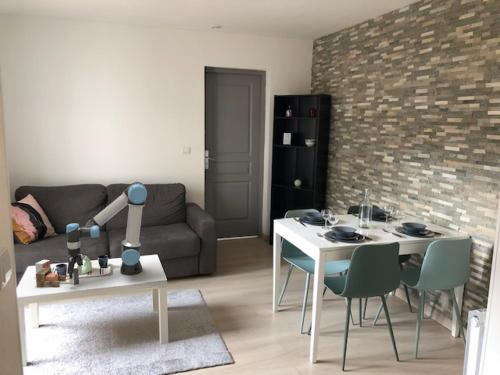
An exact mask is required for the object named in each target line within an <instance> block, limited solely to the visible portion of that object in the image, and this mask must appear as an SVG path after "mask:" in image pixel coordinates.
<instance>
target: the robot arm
mask: <svg viewBox="0 0 500 375" xmlns="http://www.w3.org/2000/svg"><path fill="white" fill-rule="evenodd" d="M147 191H148V190H147V187H146V186H145V184H143V183H142V182H140V181H135V182H132V183H131V184H130V185H129V186H128V187H127V188H126V189H125V190H123V191H122V194H121V195H119V196H118V197H117V198H116V199H114V200H113V201H112V202H111V203H110V204H109V205H107V206H106V207H105V208H103V210H101V211H99V213H97V214H96V215H95V216H93V217H92V218H91V219H90V220H88V221H86V223H85V225H83V226H80V224H79V223H75V222H73V223H69V224H67V225H66V227H65V228H66V232H65V233H66V241H67V243H66V244H67V254H68V255H70V257H69V258H68V262H67V271H66V274H67V275H68V279H69V281H68V282H70V283H69V284H74V273H73V270H74V268H75V265H77V266H76V268H78V274H79V276H83V268H82V266H84V261H83V258H82V254H81V253H82V252H81V239H88V238H89V239H92V238H93V239H94V238H98V237H100V228H101V227H102V226H103V225H104V224H105V223H107V222H108V221H109V220H110V219H111V218H113V217H114V216H115V215H116V214H117V213H119V212H120V211H121V210H122V209H124V208H125V207H126V206H128V213H127V224H126V232H125V233H126V234H125V239H124V240H121V243H120V245H121V261H122V262H121V264H120V269H119V272H120V274H121V275H125V276H134V275H137V274H140V273H142V272H143V265H142V262H141V260H140V259H141V246H142V244H141V242H140V234H141V226H142V216H143V209H144V208H143V207H145V206H146V201H147V197H148V192H147Z"/></svg>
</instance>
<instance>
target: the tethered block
mask: <svg viewBox="0 0 500 375" xmlns="http://www.w3.org/2000/svg"><path fill="white" fill-rule="evenodd" d="M73 273H74V283H73V285H79V284H80V279H79V278H80V277H79V276H80V275H79V274H78V268H77V267H74V270H73ZM58 274H59V273H56V272H55V273H54V272H52V273H48V274H47V275H46V276H45V281H58V276H59V275H58ZM60 284H71V283H70V282H69V281H60Z"/></svg>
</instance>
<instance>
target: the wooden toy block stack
mask: <svg viewBox="0 0 500 375" xmlns="http://www.w3.org/2000/svg"><path fill="white" fill-rule="evenodd" d="M48 273H53V272H52V267H51V268H43V269H42V270H40V271H39V272H38V273H36V272H35V283H36V288H60V286H61V283H60V282H67V275H58V281H45V276H46V275H47V274H48Z"/></svg>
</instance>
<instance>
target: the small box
mask: <svg viewBox="0 0 500 375" xmlns="http://www.w3.org/2000/svg"><path fill="white" fill-rule="evenodd" d="M34 264H35V274H36V273H38V272H39V271H40V270H42V269H43V268H51V269H52V266H51V260H49V259H42V260H39V261H37V262H35V263H34Z"/></svg>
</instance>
